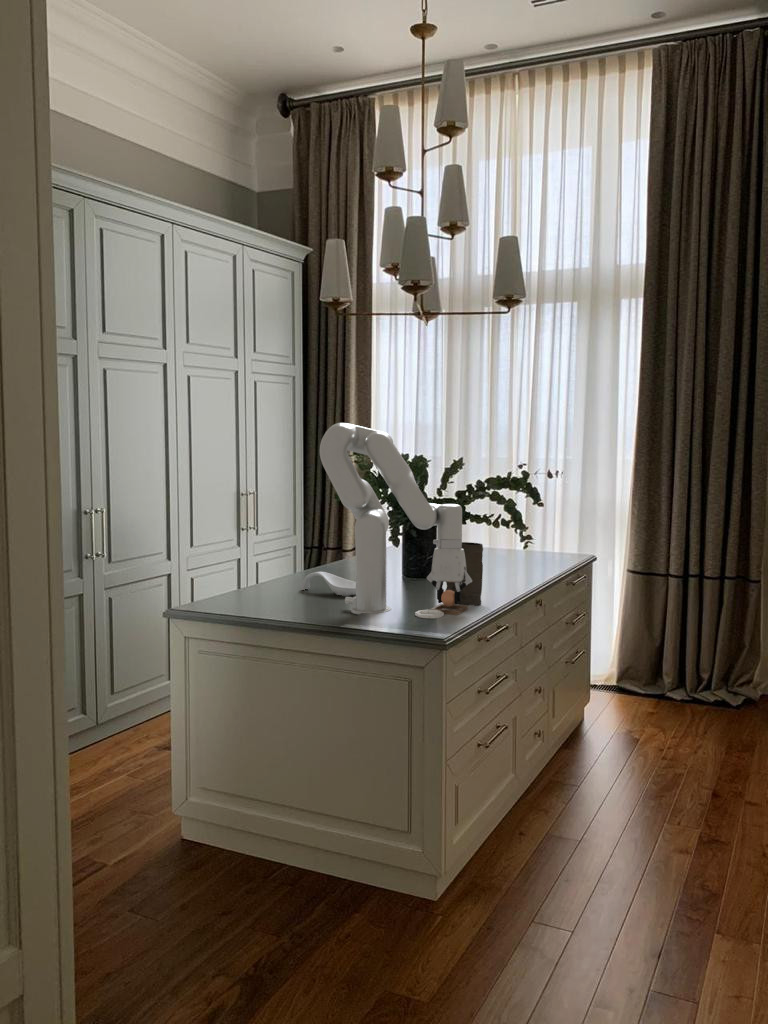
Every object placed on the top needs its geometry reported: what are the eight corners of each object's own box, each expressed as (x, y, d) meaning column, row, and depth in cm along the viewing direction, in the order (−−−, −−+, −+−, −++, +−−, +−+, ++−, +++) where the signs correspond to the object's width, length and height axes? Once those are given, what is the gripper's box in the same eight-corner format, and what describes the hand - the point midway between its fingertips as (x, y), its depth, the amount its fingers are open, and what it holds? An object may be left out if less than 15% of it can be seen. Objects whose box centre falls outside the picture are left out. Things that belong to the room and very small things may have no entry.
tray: (430, 615, 281) (430, 609, 281) (440, 610, 289) (440, 603, 289) (457, 618, 278) (458, 611, 277) (467, 612, 286) (467, 606, 286)
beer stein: (461, 599, 307) (462, 540, 306) (488, 603, 301) (489, 542, 299) (434, 606, 296) (435, 544, 294) (462, 610, 289) (462, 547, 287)
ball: (438, 606, 282) (438, 590, 282) (444, 603, 287) (444, 588, 286) (454, 608, 280) (454, 592, 280) (459, 605, 285) (459, 589, 284)
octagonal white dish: (412, 620, 274) (412, 613, 274) (421, 615, 282) (421, 608, 282) (437, 622, 271) (437, 616, 271) (446, 617, 279) (446, 611, 278)
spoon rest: (370, 594, 318) (370, 573, 317) (352, 599, 307) (352, 578, 307) (312, 588, 329) (312, 568, 328) (294, 593, 319) (294, 572, 318)
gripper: (419, 544, 281) (419, 603, 283) (472, 547, 275) (471, 607, 276) (428, 541, 288) (427, 598, 290) (479, 544, 282) (479, 603, 283)
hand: (449, 602), depth 283 cm, fingers closed on ball, 4 cm apart
